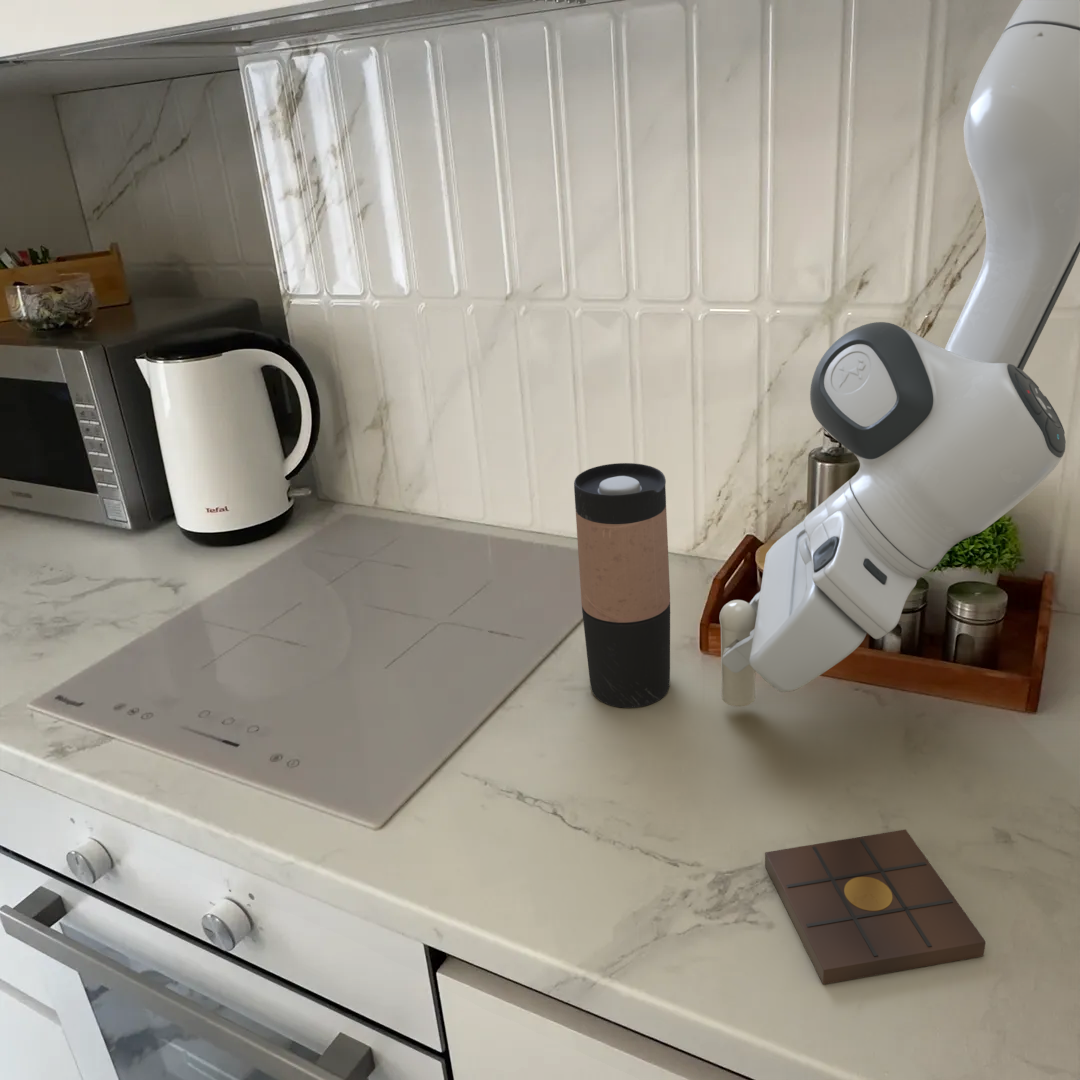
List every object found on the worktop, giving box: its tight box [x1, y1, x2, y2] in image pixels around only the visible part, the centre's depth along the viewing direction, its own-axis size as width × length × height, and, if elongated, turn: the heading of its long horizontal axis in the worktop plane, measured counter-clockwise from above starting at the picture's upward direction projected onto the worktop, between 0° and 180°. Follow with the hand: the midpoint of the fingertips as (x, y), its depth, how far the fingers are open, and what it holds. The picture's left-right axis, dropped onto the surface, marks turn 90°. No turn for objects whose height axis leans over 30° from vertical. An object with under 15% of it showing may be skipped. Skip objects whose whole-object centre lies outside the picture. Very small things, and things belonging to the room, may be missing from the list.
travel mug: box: [573, 462, 671, 709], centre depth 84 cm, size 8×8×20 cm
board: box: [764, 829, 986, 985], centre depth 62 cm, size 10×10×1 cm
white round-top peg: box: [719, 599, 757, 707], centre depth 80 cm, size 3×3×9 cm
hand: (730, 650), depth 80 cm, fingers closed on white round-top peg, 3 cm apart
